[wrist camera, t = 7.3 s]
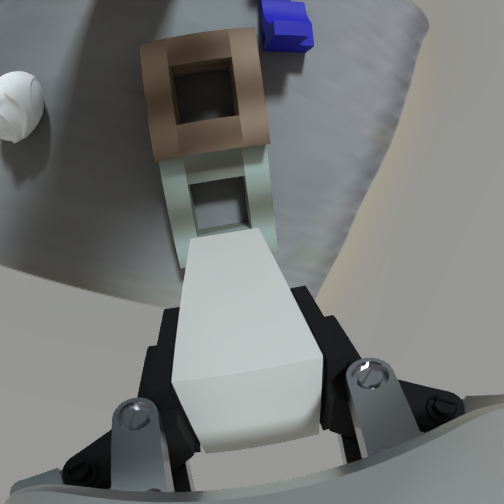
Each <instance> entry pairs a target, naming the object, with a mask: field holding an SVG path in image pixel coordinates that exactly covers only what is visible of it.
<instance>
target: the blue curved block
mask: <svg viewBox="0 0 504 504" xmlns="http://www.w3.org/2000/svg"><path fill="white" fill-rule="evenodd" d="M259 4H260V16H261V28H262V41H263V51H270V52H300V53H306V52H307V51H308V50H310V49H311V48H312V47H314V41H313V31H312V23H311V22H310V21H309V19H308V16H307V14H306V10H305V5H304V3H303V2H292V1H290V0H259Z"/></svg>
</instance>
